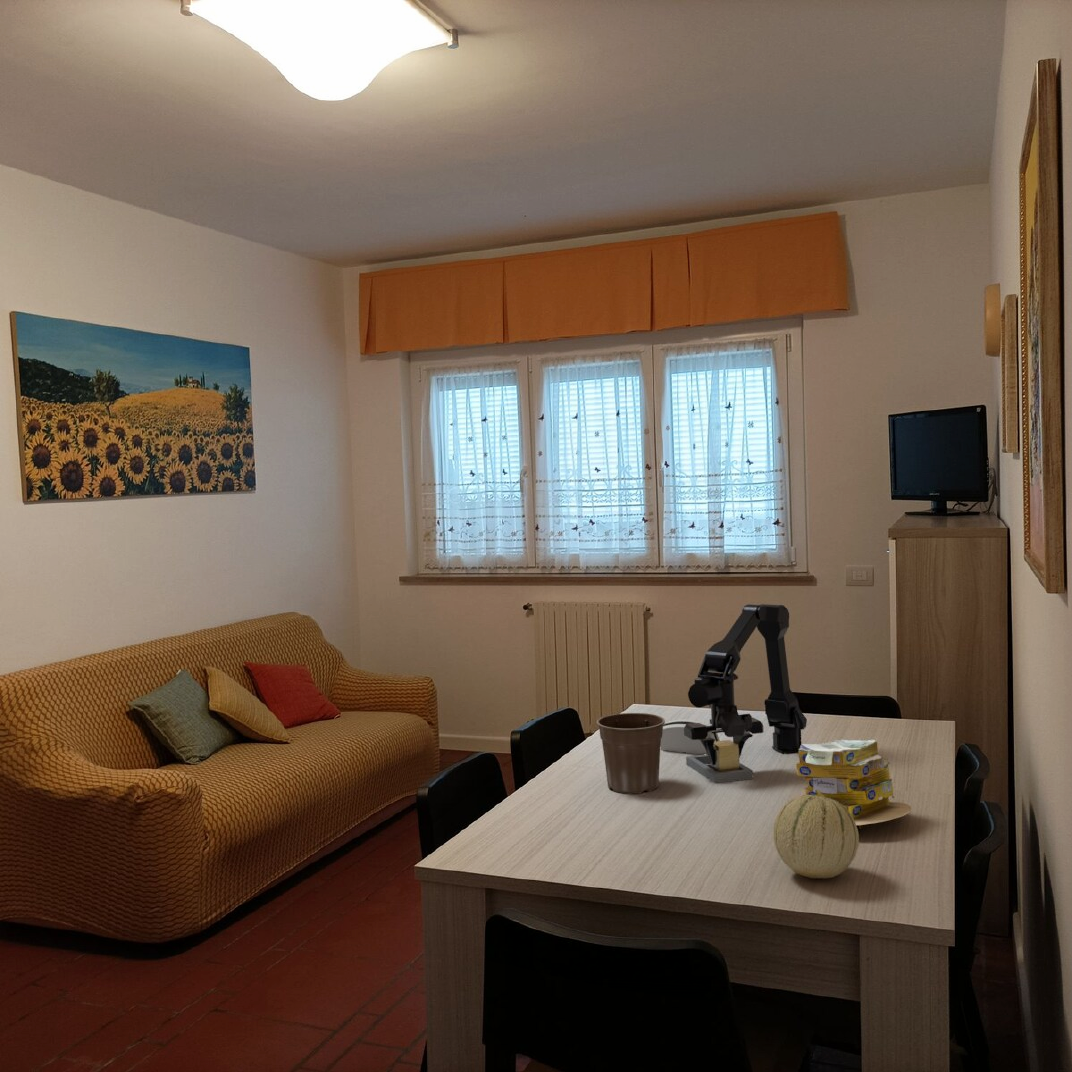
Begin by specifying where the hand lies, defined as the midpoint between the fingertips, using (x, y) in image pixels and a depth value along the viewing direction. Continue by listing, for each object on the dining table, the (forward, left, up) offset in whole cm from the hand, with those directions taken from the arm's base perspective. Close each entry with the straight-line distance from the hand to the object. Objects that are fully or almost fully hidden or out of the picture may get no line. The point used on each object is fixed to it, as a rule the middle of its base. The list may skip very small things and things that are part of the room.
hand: (724, 763), depth 251 cm
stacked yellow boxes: (-10, +41, -3) cm, 42 cm away
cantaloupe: (+11, +66, -3) cm, 67 cm away
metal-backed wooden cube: (0, 0, -2) cm, 2 cm away
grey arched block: (0, -24, -3) cm, 24 cm away
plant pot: (+24, +1, -3) cm, 24 cm away
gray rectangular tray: (0, -4, -3) cm, 5 cm away
